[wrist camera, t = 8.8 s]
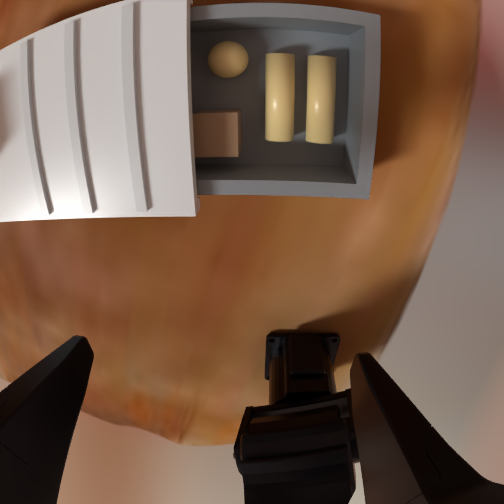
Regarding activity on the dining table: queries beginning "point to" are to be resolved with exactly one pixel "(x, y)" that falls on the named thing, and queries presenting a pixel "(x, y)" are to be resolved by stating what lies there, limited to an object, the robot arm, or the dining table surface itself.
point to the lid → (100, 116)
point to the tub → (284, 99)
